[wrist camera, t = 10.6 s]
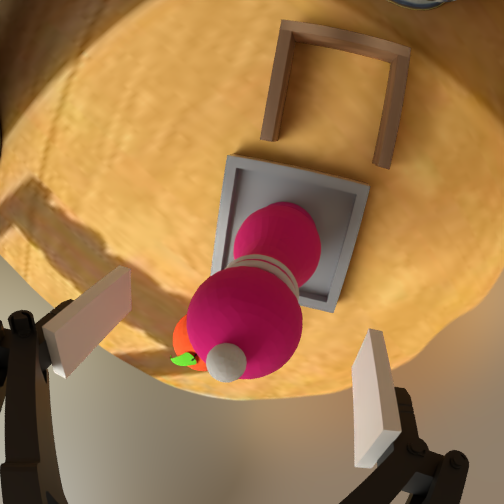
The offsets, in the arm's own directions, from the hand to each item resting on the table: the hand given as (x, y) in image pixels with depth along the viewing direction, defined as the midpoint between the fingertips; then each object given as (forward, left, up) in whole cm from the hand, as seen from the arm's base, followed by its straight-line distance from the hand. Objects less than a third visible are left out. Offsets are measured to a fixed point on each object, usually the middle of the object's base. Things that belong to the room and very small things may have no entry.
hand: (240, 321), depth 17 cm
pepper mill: (0, 0, -16) cm, 16 cm away
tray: (0, 0, -17) cm, 17 cm away
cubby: (+2, +14, -17) cm, 22 cm away
